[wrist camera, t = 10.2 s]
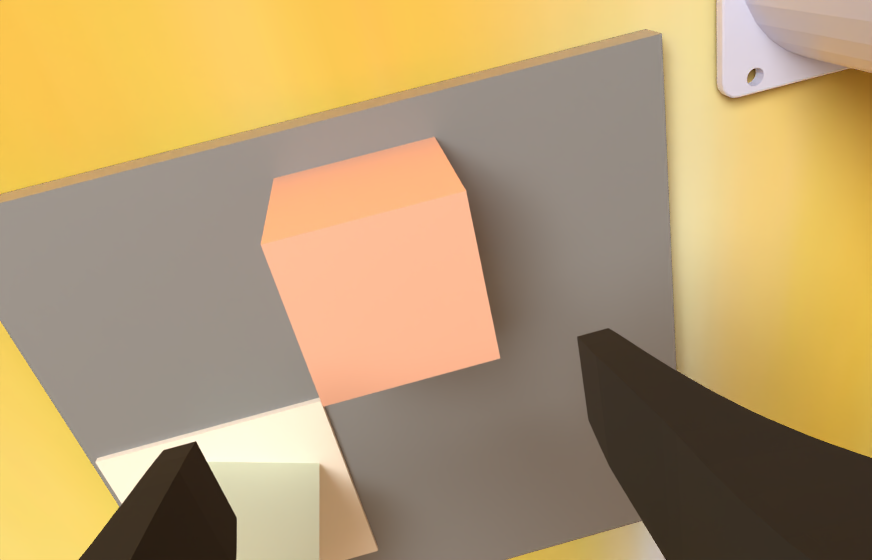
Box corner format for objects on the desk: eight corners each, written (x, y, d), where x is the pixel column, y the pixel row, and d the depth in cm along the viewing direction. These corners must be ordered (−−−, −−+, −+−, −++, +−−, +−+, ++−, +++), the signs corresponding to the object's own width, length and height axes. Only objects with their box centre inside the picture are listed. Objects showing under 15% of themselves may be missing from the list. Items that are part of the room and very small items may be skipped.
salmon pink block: (434, 136, 18) (466, 191, 14) (465, 277, 20) (500, 358, 17) (273, 178, 18) (260, 244, 14) (322, 316, 20) (322, 406, 16)
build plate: (646, 29, 19) (665, 34, 18) (670, 491, 28) (684, 513, 27) (-47, 206, 18) (-69, 222, 17) (211, 621, 27) (207, 649, 26)
